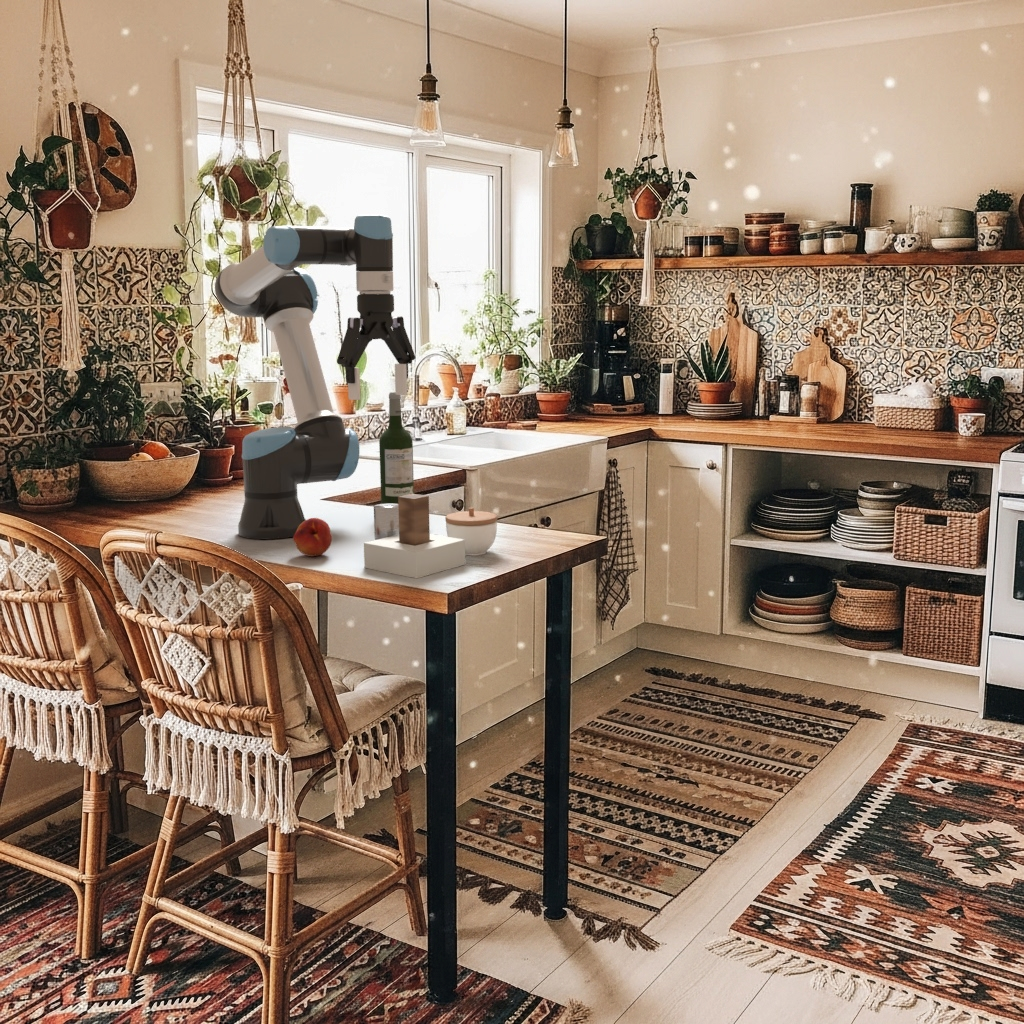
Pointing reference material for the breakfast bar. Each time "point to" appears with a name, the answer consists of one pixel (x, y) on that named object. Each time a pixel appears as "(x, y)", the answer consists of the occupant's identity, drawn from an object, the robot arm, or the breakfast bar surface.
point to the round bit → (386, 520)
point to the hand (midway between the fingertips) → (378, 397)
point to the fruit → (313, 537)
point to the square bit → (414, 519)
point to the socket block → (414, 555)
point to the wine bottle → (395, 456)
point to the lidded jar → (473, 530)
